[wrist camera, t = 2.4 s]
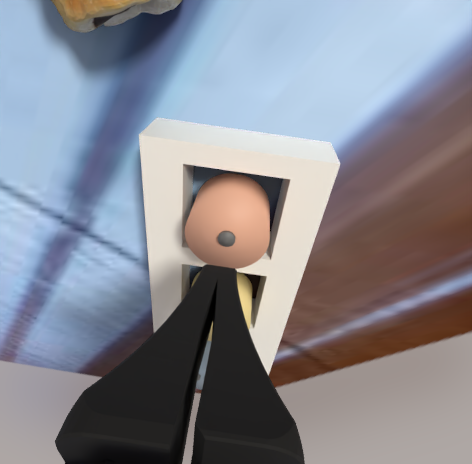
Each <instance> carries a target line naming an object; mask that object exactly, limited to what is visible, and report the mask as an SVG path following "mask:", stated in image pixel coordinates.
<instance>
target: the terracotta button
mask: <svg viewBox="0 0 472 464" xmlns="http://www.w3.org/2000/svg"><path fill="white" fill-rule="evenodd" d="M185 238H186V242H187V244H188V246H189V248H190V250H191V251H192V252H193V253H194V254H195V255H196V256H197V257H198V258H199V259H200V260H202V261H203V262H205V263H207V264H209V265H215V266H222V267H229V268H235V269H239V268H244V267H247V266H249V265H252V264H253V263H255V262H257V261H258V260H259V259H260V258H261V257H262V256H263V255H264V254H265V252H266V250H267V248H268V246H269V241H270V203H269V199H268V196H267V194H266V192H265V190H264V189H263V188H262V187H261V186H260V184H258V183H257V182H256V181H254V180H253V179H251V178H249V177H247V176H244V175H241V174H235V173H226V174H221V175H217V176H215V177H212V178H211V179H209V180H208V181H207V182H205V183H204V184H203V185H202V187H201V188H200V190H199V192H198V194H197V197H196V199H195V202H194V204H193V207H192V209H191V212H190V215H189V217H188V220H187V222H186V226H185Z"/></svg>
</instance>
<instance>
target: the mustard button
mask: <svg viewBox="0 0 472 464" xmlns="http://www.w3.org/2000/svg"><path fill="white" fill-rule="evenodd" d="M200 272H201V271H200ZM200 272H199V273H198V274H197V275H196V276H195V278H194V280H193V283H192V286H193V284H194V283H195V281H196V279H197V278H198V276H199V274H200ZM237 284H238V291H239V296H240V301H241V305H242V309H243V313H244V317H245V320H246V323H247V326H248V329H250V324H251V308H252V292H253V289H252V284H251V282H250V280H249V279H248V278H247V276H245V275H244V274H243V273H241V272H237ZM212 327H213V322H212V326H211V330H210V333H209V337H208V341H211V339H212Z"/></svg>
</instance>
